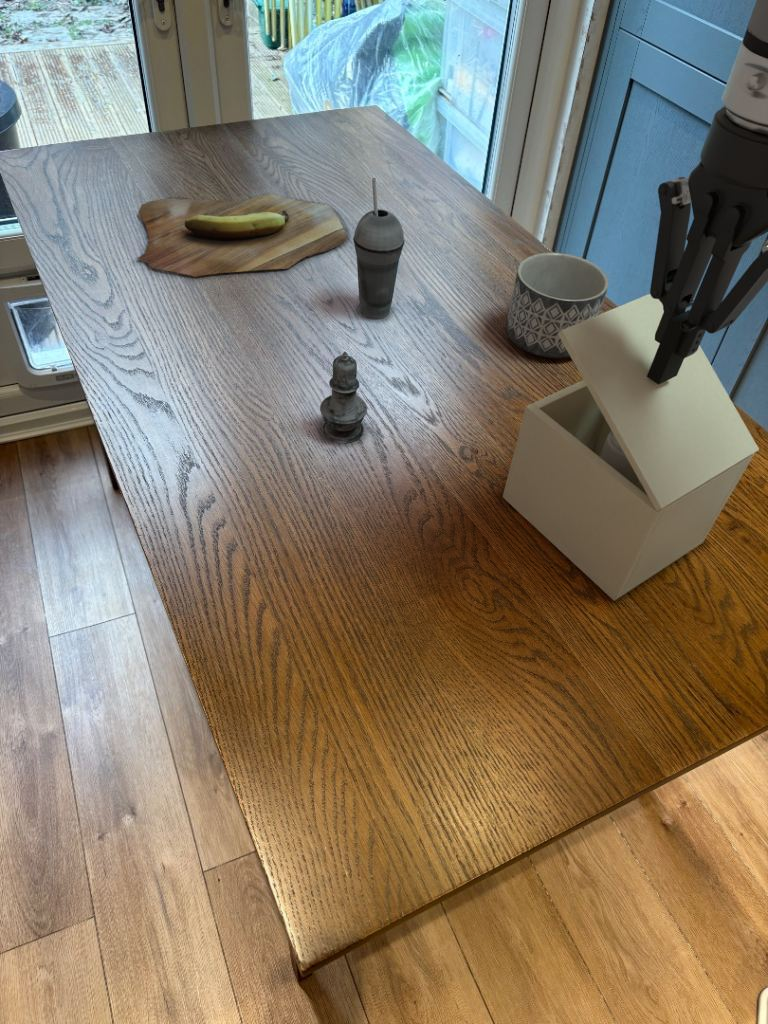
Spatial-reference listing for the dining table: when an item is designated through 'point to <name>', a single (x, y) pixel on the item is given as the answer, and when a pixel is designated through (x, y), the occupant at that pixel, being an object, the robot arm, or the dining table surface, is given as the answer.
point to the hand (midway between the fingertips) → (661, 375)
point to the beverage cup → (377, 259)
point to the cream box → (602, 496)
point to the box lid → (657, 402)
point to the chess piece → (343, 403)
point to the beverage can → (618, 459)
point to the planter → (553, 300)
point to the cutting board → (236, 234)
